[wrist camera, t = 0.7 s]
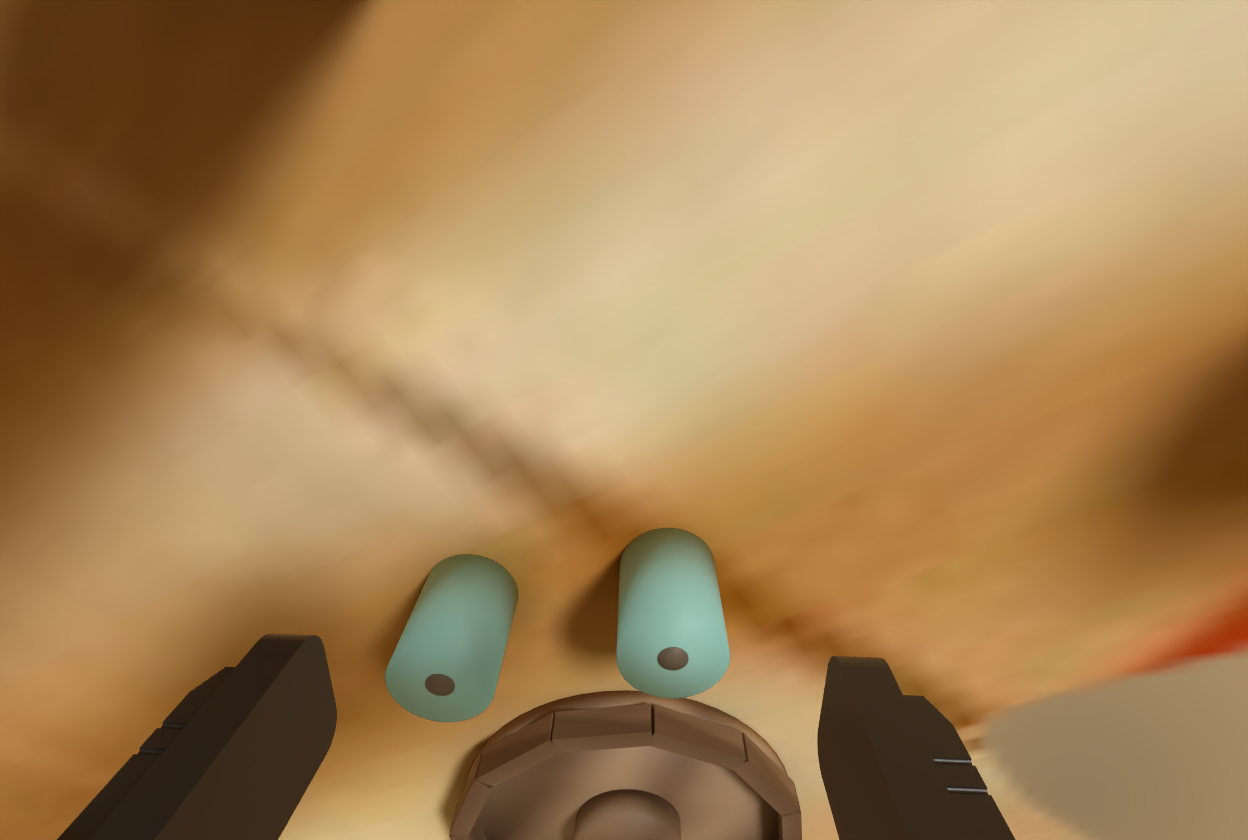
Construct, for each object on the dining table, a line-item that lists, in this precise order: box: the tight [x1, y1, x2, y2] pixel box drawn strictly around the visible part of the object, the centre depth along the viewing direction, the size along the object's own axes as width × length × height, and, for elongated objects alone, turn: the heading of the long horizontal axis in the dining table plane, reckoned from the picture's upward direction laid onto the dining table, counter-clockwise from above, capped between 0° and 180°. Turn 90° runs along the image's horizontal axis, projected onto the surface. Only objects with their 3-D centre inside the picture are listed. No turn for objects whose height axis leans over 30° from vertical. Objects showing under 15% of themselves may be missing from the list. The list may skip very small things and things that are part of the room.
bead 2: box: [616, 528, 730, 698], centre depth 27 cm, size 4×4×6 cm
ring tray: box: [449, 691, 802, 840], centre depth 36 cm, size 19×19×3 cm
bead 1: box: [385, 554, 518, 722], centre depth 28 cm, size 4×4×6 cm
